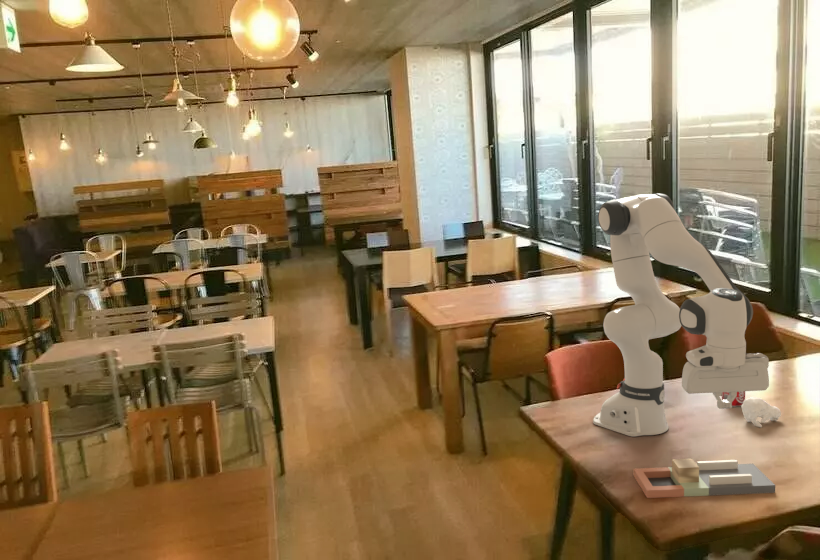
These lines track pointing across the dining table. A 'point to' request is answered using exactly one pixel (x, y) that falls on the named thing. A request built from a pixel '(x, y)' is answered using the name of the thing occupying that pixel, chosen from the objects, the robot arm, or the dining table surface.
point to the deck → (662, 485)
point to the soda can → (738, 400)
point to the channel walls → (724, 478)
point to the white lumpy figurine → (759, 411)
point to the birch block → (685, 470)
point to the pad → (692, 487)
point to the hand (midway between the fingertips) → (724, 407)
